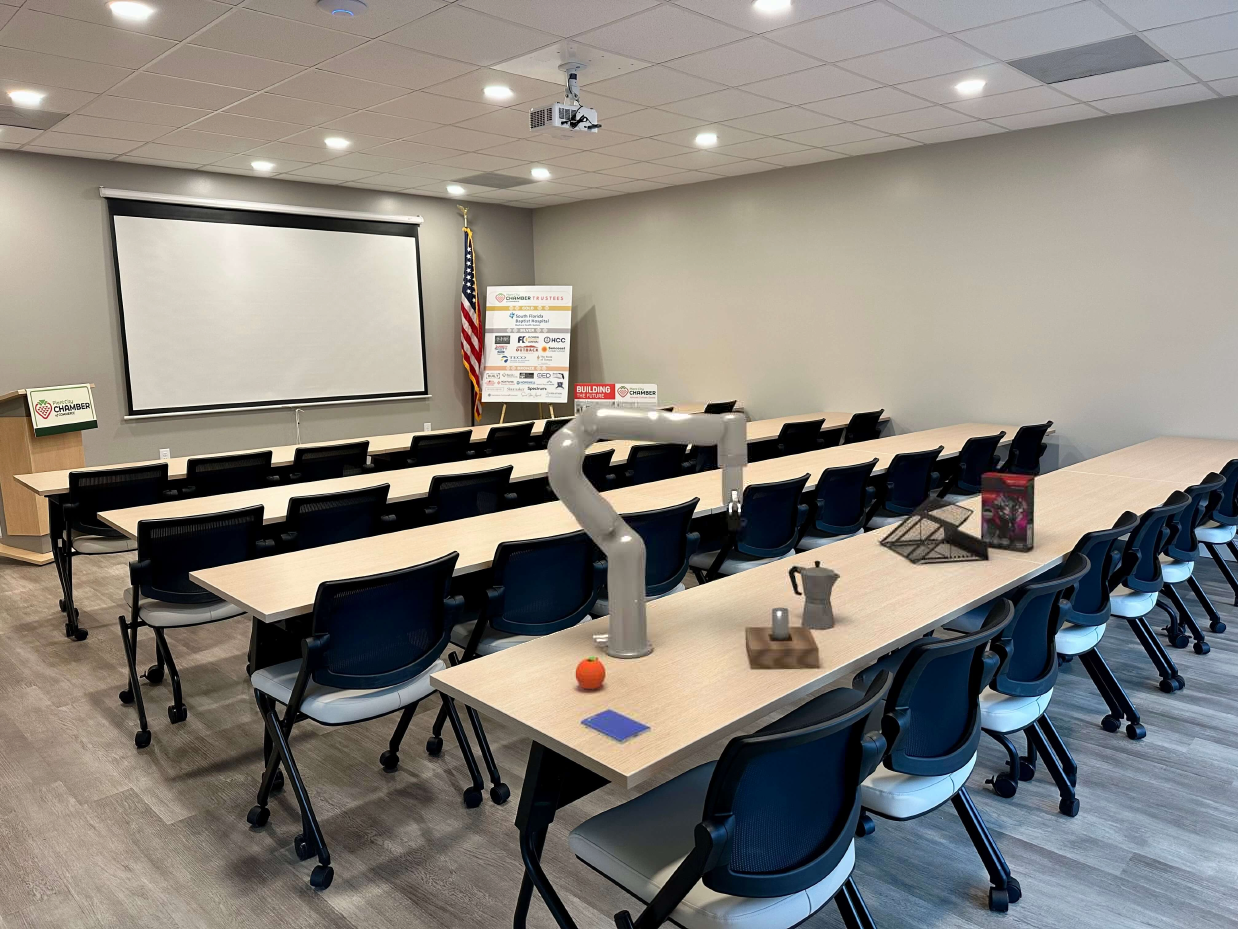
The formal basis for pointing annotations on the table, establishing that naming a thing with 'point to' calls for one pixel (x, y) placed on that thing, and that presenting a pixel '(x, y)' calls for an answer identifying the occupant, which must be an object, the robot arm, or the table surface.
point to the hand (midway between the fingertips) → (733, 526)
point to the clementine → (590, 673)
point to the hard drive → (615, 726)
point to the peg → (780, 624)
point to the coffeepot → (815, 595)
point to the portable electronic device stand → (951, 536)
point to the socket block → (781, 649)
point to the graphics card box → (1008, 511)
